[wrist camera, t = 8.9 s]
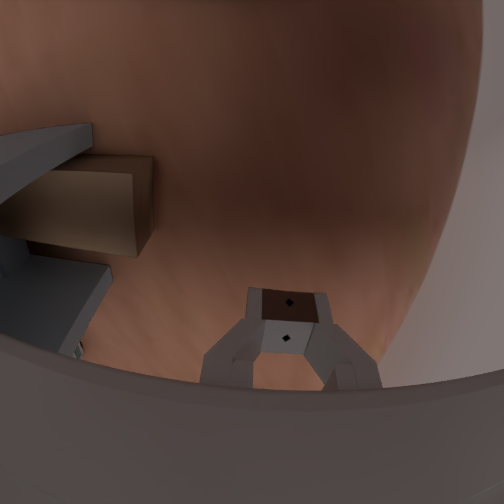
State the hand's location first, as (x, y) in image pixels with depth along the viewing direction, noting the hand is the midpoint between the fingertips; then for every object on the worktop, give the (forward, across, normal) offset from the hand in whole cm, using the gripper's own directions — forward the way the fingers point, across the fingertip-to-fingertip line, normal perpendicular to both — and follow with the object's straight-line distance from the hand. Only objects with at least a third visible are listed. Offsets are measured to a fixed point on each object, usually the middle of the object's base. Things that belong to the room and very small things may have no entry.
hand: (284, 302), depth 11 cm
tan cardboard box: (+8, +14, -1) cm, 16 cm away
